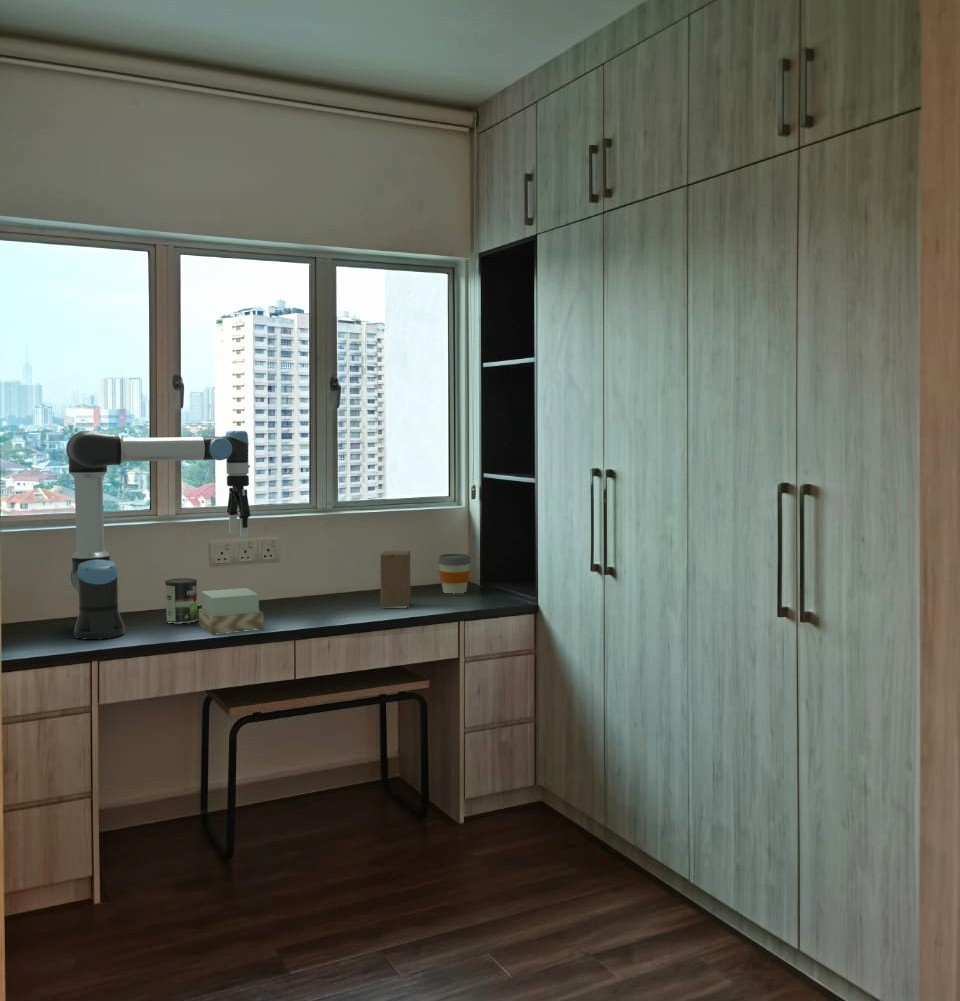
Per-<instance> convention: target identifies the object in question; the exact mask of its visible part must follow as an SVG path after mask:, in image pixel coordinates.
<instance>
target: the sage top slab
mask: <svg viewBox="0 0 960 1001" xmlns="http://www.w3.org/2000/svg"><path fill="white" fill-rule="evenodd" d="M259 599H260V596H259V594H258V593H256V592H255V591H253V590H251V589H249V588H248V587H243V588H242V587H240V588H228V589H215V590H213V589H212V590H203V591H201V609H202V610H204V611H205V612H207V613H208V614H210V615H211V616H212V617H217V616H228V615H239V614H249V613H259V611H260V605H259V604H260V600H259Z"/></svg>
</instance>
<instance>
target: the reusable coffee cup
mask: <svg viewBox="0 0 960 1001" xmlns="http://www.w3.org/2000/svg"><path fill="white" fill-rule="evenodd" d="M471 562H472V561H471V556H470V554H465V553H444V554H441V555H439V556H438V564H439V571H438V572H439V580H440V582H441V586H442V593H443V592H444V593H453V594H455V593H464V592H466V593H467V587H468V582H469V580H470V574H471V573H470V572H471V569H470V564H471Z"/></svg>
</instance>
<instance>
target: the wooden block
mask: <svg viewBox="0 0 960 1001" xmlns="http://www.w3.org/2000/svg"><path fill="white" fill-rule="evenodd" d="M379 556H380V558H379V559H380V561H379V562H380V563H379V564H380V566H379V568H380V570H379V571H380V608H381V607H393V606H394V607H395V606H409V607H410V605H409V603H410V604H411V551H410V550H383V551H382V552H381V553H380V555H379Z"/></svg>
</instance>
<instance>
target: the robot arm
mask: <svg viewBox="0 0 960 1001" xmlns="http://www.w3.org/2000/svg"><path fill="white" fill-rule="evenodd" d="M249 445H250V443H249V435H248V432H247V431H245V430H227V431H226V432H225V435H223V436H206V435H205V436H202V435H201V436H194V437H191V436H190V437H189V436H188V437H185V436H184V437H123V436H121V434H107V433H106V434H105V433H102V432H97V431H96V432H95V431H91V430H90V431H89V430H85V431H84V430H83V431H79V432H76V433H74V434H73V435H72V436H71V437H70V438H69V440H68V441H67V444H66V449H65V451H66V454H67V458H68V473H69V474H70V475H71V476H72V477H73V478H74V506H75V507H74V508H75V534H76V535H75V539H76V550H75V552H74V553H73V554H72V555H71V564H72V565H71V566H72V567H71V572H70V582H71V584H72V586H73V588H74V589H75V590H76V591H77V593H78V610H79V611H78V616H77V619H76V622H75V626H74V629H73V636H75V637H78V638H86V639H98V640H100V639H99V638H108V639H110V638H109V637H114V638H116V637H115V636H118V637H120V636H119V635H121V636H123V635H125V633H126V632H125V631H126V630H125V624H124V622H123V619H122V616H121V613H120V611H119V597H118V596H119V594H118V591H119V589H118V573H119V572H118V566H117V565H116V563H115V562H113V561H111V559H110V557H111V556H110V553H108V551H106V548H105V523H104V522H105V520H104V491H103V489H104V487H103V484H104V483H103V482H104V481H103V478H104V476H105V475H106V474H107V473H108V467H109V466H121V465H122V464H123V463H125V462H127V463H128V462H164V461H166V462H167V461H168V462H170V461H214V460H215V461H224V460H226V464H225V465H226V466H225V467H226V475H227V476H226V485H227V487H229V488H228V492H229V493H228V502H227V509H226V513H228V521H229V522H228V527H229V528H228V529H229V533H228V534H229V535H230V534H238V519H239V536H240V538H249V518H250V517H251V511H250V503H249V498H248V490H247V489H245V488H244V487H248V486H250V476H249V475H248V474H249V472H250V471H249V469H250V468H251V465H250V464H249ZM238 510H239V511H238ZM238 515H239V517H238ZM122 634H123V635H122ZM75 637H74V638H75Z"/></svg>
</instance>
